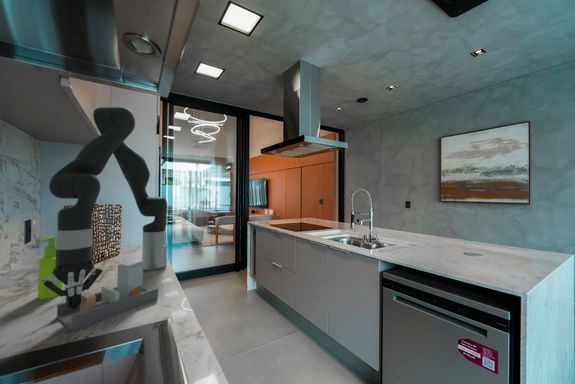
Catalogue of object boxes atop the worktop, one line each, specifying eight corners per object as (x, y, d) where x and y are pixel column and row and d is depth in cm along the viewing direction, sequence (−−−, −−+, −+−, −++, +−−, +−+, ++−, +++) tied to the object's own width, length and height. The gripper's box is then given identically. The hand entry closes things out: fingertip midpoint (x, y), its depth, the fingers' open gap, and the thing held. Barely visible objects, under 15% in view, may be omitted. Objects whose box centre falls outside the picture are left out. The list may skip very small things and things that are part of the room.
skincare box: (127, 303, 74) (128, 265, 74) (116, 302, 75) (117, 264, 75) (143, 295, 80) (143, 260, 80) (132, 294, 81) (133, 259, 81)
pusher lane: (139, 290, 85) (139, 280, 85) (157, 299, 79) (157, 288, 79) (56, 317, 67) (56, 304, 67) (72, 330, 60) (72, 316, 60)
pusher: (104, 300, 75) (105, 284, 75) (118, 308, 70) (119, 291, 70) (76, 309, 69) (77, 292, 70) (89, 319, 64) (90, 300, 64)
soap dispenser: (30, 301, 76) (31, 239, 76) (47, 292, 83) (48, 235, 83) (51, 300, 77) (52, 238, 77) (66, 291, 84) (67, 235, 84)
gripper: (97, 239, 73) (96, 296, 73) (36, 247, 62) (35, 314, 62) (108, 243, 69) (107, 302, 69) (45, 252, 58) (43, 323, 58)
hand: (73, 307), depth 65 cm, fingers closed
